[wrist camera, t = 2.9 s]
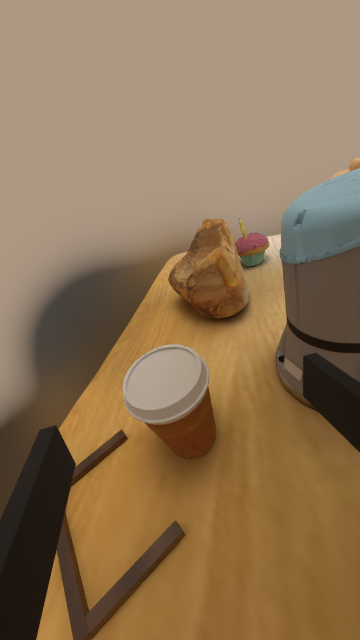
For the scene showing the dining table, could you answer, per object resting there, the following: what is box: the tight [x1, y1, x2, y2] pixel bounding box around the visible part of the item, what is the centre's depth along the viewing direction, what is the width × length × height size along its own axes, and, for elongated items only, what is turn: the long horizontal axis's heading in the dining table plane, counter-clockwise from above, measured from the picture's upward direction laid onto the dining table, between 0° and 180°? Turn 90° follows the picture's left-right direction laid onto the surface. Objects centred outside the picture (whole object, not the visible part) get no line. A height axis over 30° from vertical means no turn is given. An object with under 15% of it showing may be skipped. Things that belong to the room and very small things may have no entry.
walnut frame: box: [57, 430, 185, 640], centre depth 28 cm, size 11×15×1 cm
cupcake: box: [235, 219, 269, 266], centre depth 62 cm, size 9×8×12 cm
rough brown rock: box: [168, 219, 249, 318], centre depth 54 cm, size 23×17×15 cm
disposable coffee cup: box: [123, 344, 216, 459], centre depth 29 cm, size 10×10×12 cm
